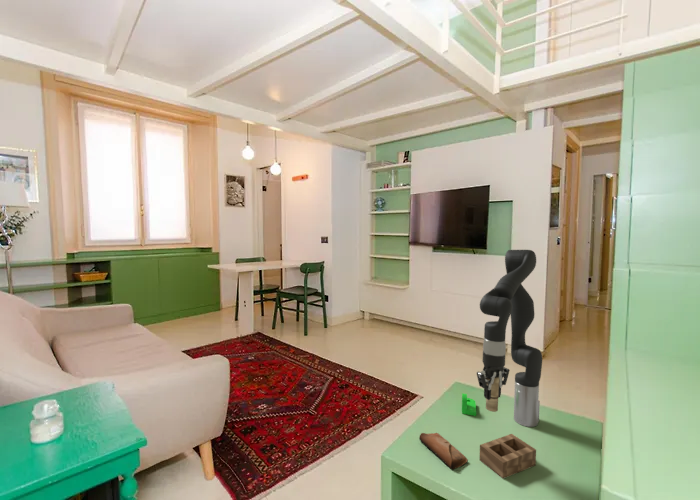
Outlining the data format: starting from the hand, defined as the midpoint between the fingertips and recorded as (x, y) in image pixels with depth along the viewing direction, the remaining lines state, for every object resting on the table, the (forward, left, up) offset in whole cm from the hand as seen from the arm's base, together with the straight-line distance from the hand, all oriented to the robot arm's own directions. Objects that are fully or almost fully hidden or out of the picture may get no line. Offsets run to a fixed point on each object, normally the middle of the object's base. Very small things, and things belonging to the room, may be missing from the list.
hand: (492, 397), depth 120 cm
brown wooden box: (-2, +6, -22) cm, 23 cm away
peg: (0, 0, -4) cm, 4 cm away
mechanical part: (-17, -28, -22) cm, 40 cm away
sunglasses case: (+13, -9, -23) cm, 28 cm away
